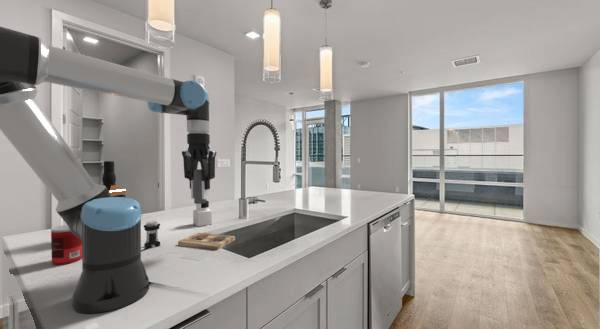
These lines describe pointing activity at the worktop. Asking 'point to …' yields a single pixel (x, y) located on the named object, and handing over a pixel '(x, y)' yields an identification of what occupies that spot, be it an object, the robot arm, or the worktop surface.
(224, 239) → the socket board
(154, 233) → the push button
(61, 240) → the canned food
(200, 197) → the dark grey cylinder
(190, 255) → the deck pad
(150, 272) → the worktop surface
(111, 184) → the whiskey bottle
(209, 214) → the medicine bottle
